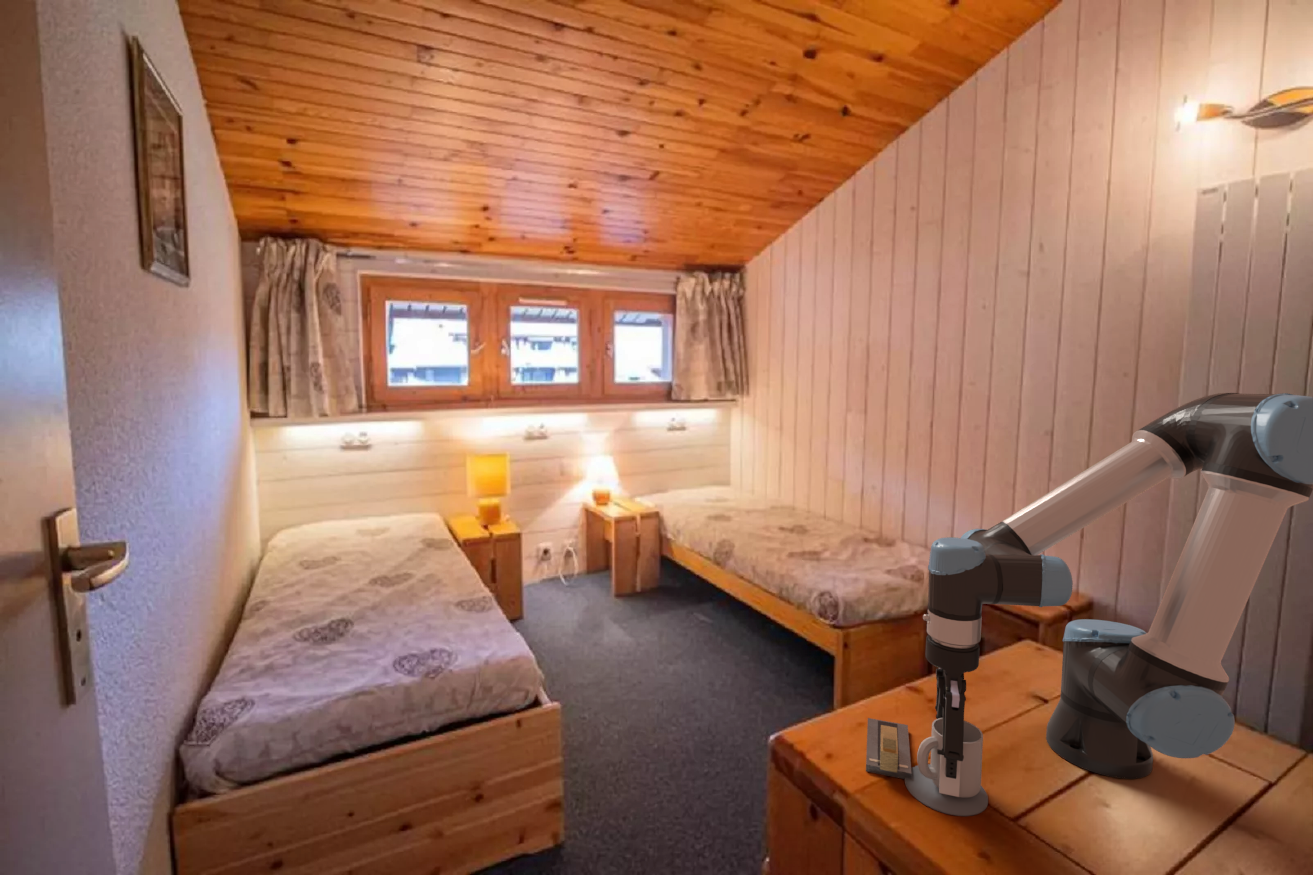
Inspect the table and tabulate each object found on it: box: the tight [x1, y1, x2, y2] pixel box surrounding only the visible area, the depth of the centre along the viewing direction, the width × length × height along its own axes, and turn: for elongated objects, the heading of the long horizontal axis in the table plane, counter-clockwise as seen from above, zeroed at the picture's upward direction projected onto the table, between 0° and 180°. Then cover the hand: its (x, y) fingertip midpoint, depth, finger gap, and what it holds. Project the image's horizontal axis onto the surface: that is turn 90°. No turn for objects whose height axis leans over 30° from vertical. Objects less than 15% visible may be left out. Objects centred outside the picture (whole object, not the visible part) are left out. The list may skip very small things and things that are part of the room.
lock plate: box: [865, 717, 912, 780], centre depth 108 cm, size 7×15×1 cm, turn 160°
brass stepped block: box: [880, 725, 898, 773], centre depth 103 cm, size 3×8×5 cm, turn 160°
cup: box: [916, 718, 984, 798], centre depth 97 cm, size 7×10×9 cm
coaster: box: [904, 763, 989, 817], centre depth 98 cm, size 12×12×1 cm
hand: (946, 777), depth 97 cm, fingers open, 7 cm apart
